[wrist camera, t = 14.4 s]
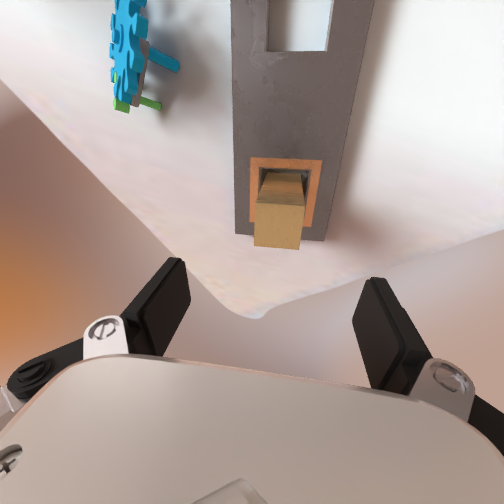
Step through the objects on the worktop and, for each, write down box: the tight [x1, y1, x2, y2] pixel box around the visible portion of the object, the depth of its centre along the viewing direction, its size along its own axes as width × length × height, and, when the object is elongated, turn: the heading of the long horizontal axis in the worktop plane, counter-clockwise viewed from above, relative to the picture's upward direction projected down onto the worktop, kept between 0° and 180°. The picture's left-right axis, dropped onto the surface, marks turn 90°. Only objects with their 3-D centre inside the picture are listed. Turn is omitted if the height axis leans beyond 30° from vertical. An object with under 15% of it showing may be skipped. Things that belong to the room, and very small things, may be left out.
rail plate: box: [231, 0, 374, 241], centre depth 24 cm, size 28×12×2 cm, turn 179°
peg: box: [254, 172, 305, 250], centre depth 24 cm, size 4×4×12 cm
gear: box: [110, 0, 179, 113], centre depth 22 cm, size 11×6×10 cm
